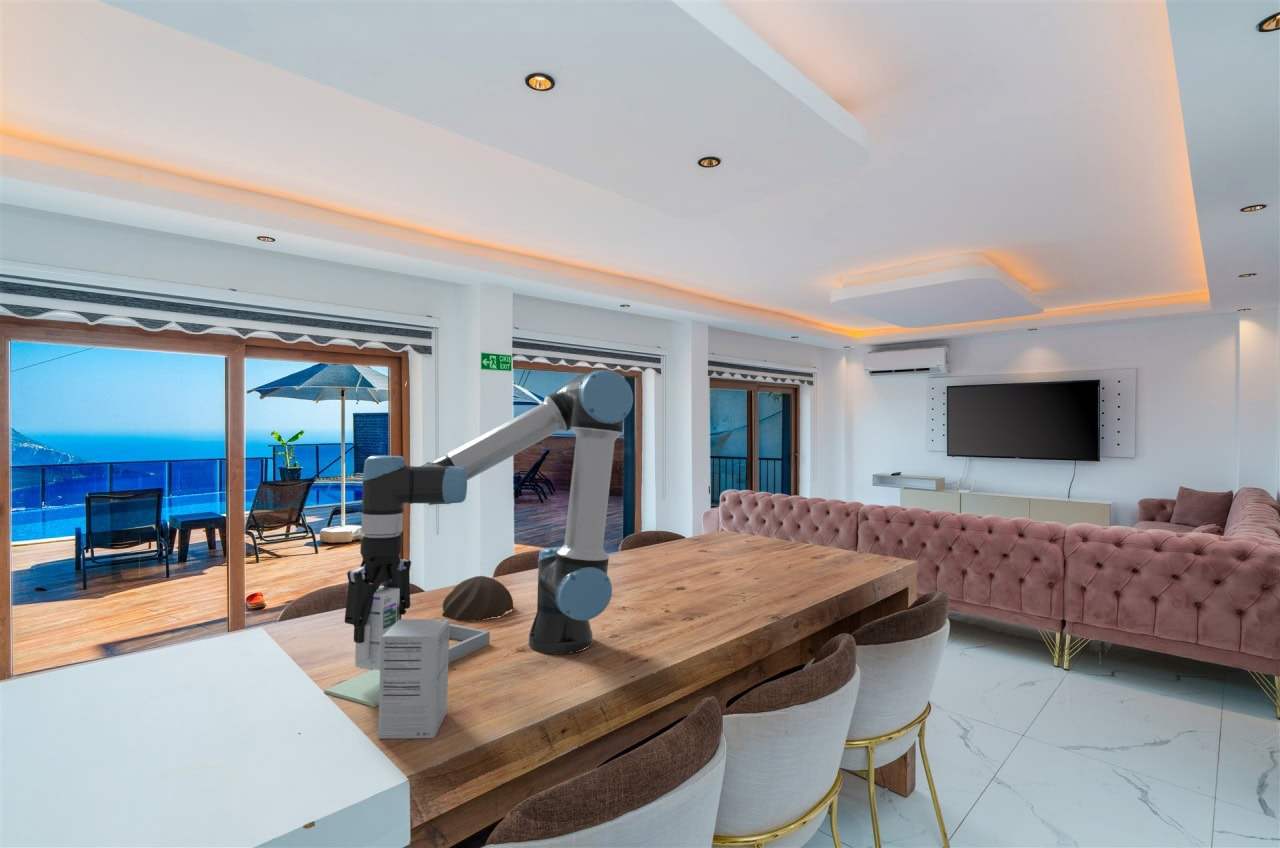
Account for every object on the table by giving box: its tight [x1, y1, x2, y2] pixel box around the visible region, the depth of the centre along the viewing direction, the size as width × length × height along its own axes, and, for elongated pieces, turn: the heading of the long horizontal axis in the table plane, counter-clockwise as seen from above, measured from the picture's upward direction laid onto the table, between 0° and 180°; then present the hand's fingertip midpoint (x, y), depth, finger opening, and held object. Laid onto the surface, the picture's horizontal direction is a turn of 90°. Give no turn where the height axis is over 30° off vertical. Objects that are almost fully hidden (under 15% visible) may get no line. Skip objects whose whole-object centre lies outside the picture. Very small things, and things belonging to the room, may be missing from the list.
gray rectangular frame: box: [448, 623, 491, 664], centre depth 139 cm, size 15×23×3 cm, turn 155°
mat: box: [323, 669, 380, 708], centre depth 120 cm, size 13×13×1 cm
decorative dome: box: [441, 575, 514, 622], centre depth 173 cm, size 19×20×10 cm
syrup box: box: [354, 585, 400, 670], centre depth 120 cm, size 6×6×14 cm
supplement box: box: [377, 618, 451, 740], centre depth 105 cm, size 10×9×17 cm
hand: (377, 652), depth 120 cm, fingers closed on syrup box, 6 cm apart
